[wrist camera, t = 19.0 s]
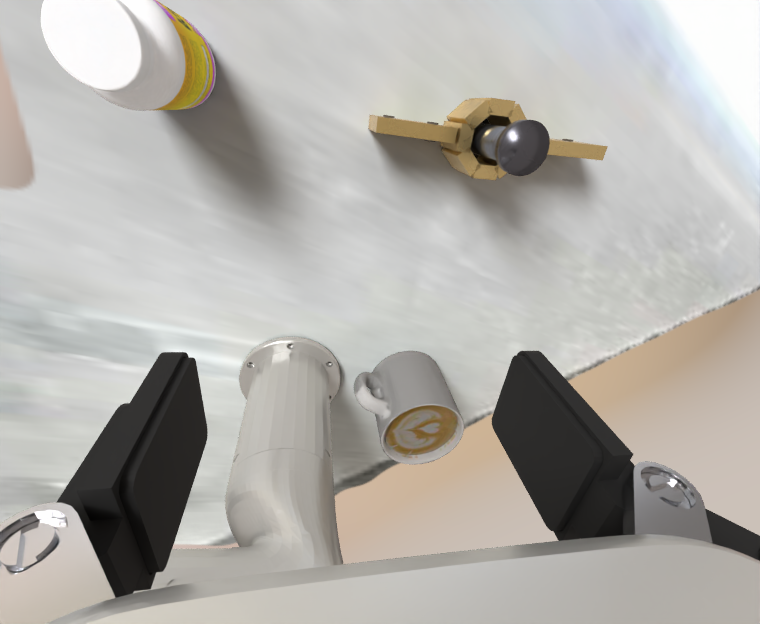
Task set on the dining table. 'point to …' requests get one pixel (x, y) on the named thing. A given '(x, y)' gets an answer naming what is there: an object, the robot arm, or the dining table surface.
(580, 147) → the hinge base
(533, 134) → the hinge pin
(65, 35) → the supplement bottle
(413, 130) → the wooden hinge leaf
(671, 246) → the dining table surface
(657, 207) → the dining table surface
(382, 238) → the dining table surface
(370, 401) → the coffee mug
